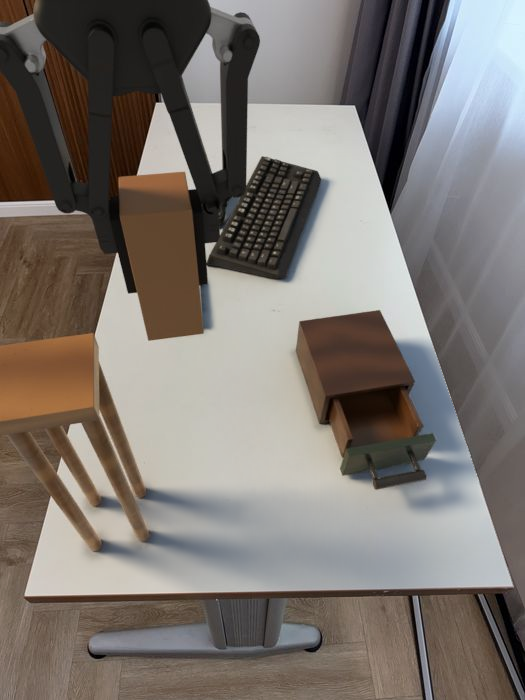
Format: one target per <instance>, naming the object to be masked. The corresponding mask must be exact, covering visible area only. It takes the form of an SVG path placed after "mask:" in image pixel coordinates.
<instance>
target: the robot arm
mask: <svg viewBox="0 0 525 700" xmlns="http://www.w3.org/2000/svg"><path fill="white" fill-rule="evenodd" d="M32 12H33V13H31V14H30V15H28V16H26V17H24V18H22V19H20V20H18V21H16V22H14V23H11V22H9V21H4V20H3V21H0V73H1V74H2V76H3V77H4V78H5V80H6V81H7V82H8V83H9V85H10V86H11V88H12V89H13V90H14V92H15V94H16V97H17V99H18V103H19V106H20V108H21V111H22V114H23V116H24V119H25V122H26V125H27V129H28V131H29V134H30V137H31V138H32V142H33V146H34V148H35V151H36V153H37V157H38V160H39V162H40V164H41V167H42V170H43V174H44V176H45V179H46V181H47V184H48V186H49V190H50V193H51V197H52V198H53V199H52V200H53V201H54V204H55V207H56V208H57V210H58V211H59V212H61V213H62V214H72V213H75V212H82V213H84V214H86V215H88V216H89V217H90V219H91V220H92V221H91V222H92V225H93V228H94V231H95V234H96V235H95V236H96V238H97V241H98V245H99V249H100V250H101V251H102V253H103V254H104V255H109V254H110V255H111V254H117V255H118V256H117V257H118V258H119V259H118V260H119V264H120V268H121V271H122V275H123V279H124V283H125V287H126V291H127V294H129V295H130V294H137V290H136V285H135V281H134V277H133V272H132V268H131V264H130V259H129V255H128V251H127V246H126V242H125V238H124V233H123V229H122V224H121V220H120V210H119V195H113V196H110V181H111V180H110V179H111V153H112V152H111V149H112V122H113V121H112V120H113V119H112V118H113V99H114V98H113V97H123V96H126V95H129V94H131V93H135V92H141V93H146V94H150V95H158V94H160V95H161V98H162V100H163V103H164V106H165V108H166V111H167V113H168V115H169V118H170V121H171V123H172V126H173V129H174V131H175V134H176V138H177V140H178V142H179V146H180V149H181V151H182V154H183V157H184V159H185V162H186V165H187V168H188V171H189V174H190V176H191V179H192V182H193V185H194V189H192V188H191V189H188V190H189V196H190V201H191V207H192V215H193V225H194V236H195V246H196V257H197V267H198V277H199V285H200V286H207V285H209V280H208V279H209V277H208V266H207V264H206V263H207V253H206V244H213V243H216V242H218V240H219V237H220V234H221V225H219V219H220V217H219V215H220V209H221V205H220V203H221V201H222V200H224V199H225V198H228V197H230V196H231V197H232V198H233V199H238V198H239V199H240V197H241V196H243V195H244V194H245V192H246V185H247V172H248V171H247V169H248V168H247V167H248V166H247V165H248V164H247V160H248V152H247V151H248V100H249V99H248V98H249V77H250V73H251V70H252V69H253V65H254V62H255V60H256V57H257V54H258V52H259V51H258V50H259V48H260V45H261V38H260V35H259V33H258V31H257V28H256V26H255V25H254V23H253V20H252V19H251V17H250V16H249V14H247V13H245V12H241V11H240V12H237V13H235V14H234V15H232V14H229V13H228V12H225V11H222V10H220V9H217V8H214V7H212V6H211V4H210V1H209V0H34V4H33V11H32ZM206 35H209V36H210V37H211V39H212V40H211V43H212V45H211V47H212V50H213V53H214V56H215V58H216V59H217V61H219V84H220V85H219V86H220V126H221V127H220V129H221V164H222V169H220V170H217V171H215V172H213V171H212V168H211V167H212V166H211V165H210V161H209V158H208V154H207V152H206V148H205V146H204V142H203V139H202V137H201V133H200V130H199V126H198V123H197V120H196V117H195V114H194V111H193V108H192V104H191V102H190V98H189V95H188V92H187V89H186V86H185V85H186V84H185V81H184V78H183V74H184V72H185V71H186V69H187V68H188V66H189V64H190V62H191V60H192V59H193V57H194V55H195V53H196V52H197V50H198V48H199V46H200V45H201V44H202V42H203V40H204V38H205V36H206ZM46 42H48V43H49V45H50V46H52V47H53V48H54V49H55V50H56V51H57V52H58V53H59V55H61V56H62V58H64V59H65V60H66V61H67V63H68V64H70V65H71V66H72V68H73V69H74V70H75V71H76V72H78V74H79V75H80V76H81V77H82V78H83V79H84V80H85V81H86V82H87V90H88V91H87V109H88V110H87V112H88V113H87V114H88V116H87V117H88V121H87V122H88V133H87V134H88V183H85V182H81V181H78V179H77V175H76V173H75V172H76V171H75V169H74V166H73V163H72V162H73V161H72V160H71V156H70V153H69V149H68V146H67V143H66V140H65V136H64V134H63V133H64V132H63V130H62V126H61V123H60V120H59V116H58V113H57V110H56V107H55V102H54V100H53V97H52V94H51V90H50V87H49V84H48V83H49V82H48V80H47V77H46V75H45V72H44V68H45V65H46V59H47V55H46V51H45V48H44V44H45V43H46Z"/></svg>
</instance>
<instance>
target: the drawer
mask: <svg viewBox="0 0 525 700" xmlns="http://www.w3.org/2000/svg"><path fill="white" fill-rule="evenodd" d="M327 415H328V418H329V421H330V422H329V424H330V426H331V430H332V432H333V436H334V438H335V442H336V444H337V447H338V450H339V452H340V453H339V454H340V456H341V458H342V461H341V464H340V467H339V470H340V473H341V476H342V477H344V476H349V475H355V474H359V473H363V472H365V473H366V472H369V471H370V474H371V477H372V486H373V489H374V490H375V491H378V490H383V489H388V488H393V487H397V486H402V485H403V486H404V485H408V484H413V483H418V482H423V481H426V480H427V473H426V472H425V470H424V469H421V466H420V464H419V462H423V461H425V460H426V458H427V457H428V455H429V453H430V451H431V450H432V448H433V446H434V445H435V443H436V441H437V439H436V437H435V435H434V433H433V432H431V433H424V434H421V432H422V430H423V428H424V424H423V422H422V420H421V417H420V415H419V413H418V412H417V410H416V407H415V406H414V403H413V401H412V400H411V397H410V394H409V395H408V392H407V390H406V388H405V386H401V387H395V388H389V389H383V390H377V391H371V392H365V393H359V394H353V395H347V396H340V397H334V398H330V400H329V405H328V409H327ZM406 464H412V466H413V470H412V471H408V472H402V473H397V474H391V475H387V476H381V477H379V474H378V472H377V470H381V469H385V468H390V467H395V466H401V465H402V466H403V465H406Z"/></svg>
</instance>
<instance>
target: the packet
mask: <svg viewBox="0 0 525 700" xmlns="http://www.w3.org/2000/svg"><path fill="white" fill-rule="evenodd" d="M186 174H187V173H186V171H175V172H163V173H152V174H151V173H149V174H138V175H125V176H118V196H119V210H120V220H121V224H122V229H123V233H124V238H125V242H126V246H127V251H128V255H129V259H130V264H131V268H132V272H133V277H134V281H135V285H136V290H137V293H136V294H137V299H138V302H139V307H140V312H141V315H142V320H143V324H144V328H145V332H146V333H145V334H146V337H147V341H149V342H151V341H158V340H164V339H165V340H167V339H173V338H180V337H188V336H197V335H203V334H204V333H205V332H204V319H202V317H203V308H202V309H201V302H202V297H201V298H200V288H199V277H198V267H197V257H196V246H195V236H194V225H193V215H192V207H191V201H190V196H189V190H190V189H189V185H188V180H187V175H186Z"/></svg>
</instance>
